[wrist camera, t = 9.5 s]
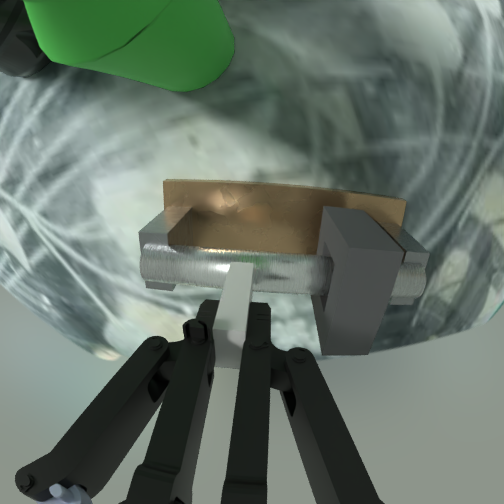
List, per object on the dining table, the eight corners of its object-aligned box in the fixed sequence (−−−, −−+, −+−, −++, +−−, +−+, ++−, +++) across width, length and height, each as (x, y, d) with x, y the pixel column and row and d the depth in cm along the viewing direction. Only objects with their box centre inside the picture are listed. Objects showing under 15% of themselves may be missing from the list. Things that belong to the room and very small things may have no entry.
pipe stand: (172, 268, 30) (139, 321, 21) (166, 179, 26) (119, 206, 17) (382, 282, 29) (413, 337, 21) (402, 198, 25) (452, 232, 16)
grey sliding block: (309, 291, 26) (322, 355, 18) (323, 205, 22) (349, 247, 15) (345, 293, 26) (367, 354, 18) (363, 210, 22) (404, 252, 14)
